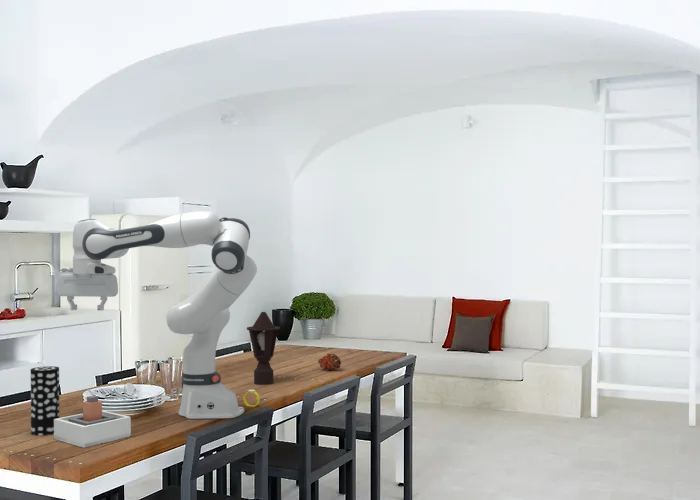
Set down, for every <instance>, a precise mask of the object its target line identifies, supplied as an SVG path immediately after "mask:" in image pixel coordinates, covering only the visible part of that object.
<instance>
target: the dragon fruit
mask: <svg viewBox="0 0 700 500" xmlns="http://www.w3.org/2000/svg"><path fill="white" fill-rule="evenodd" d="M317 363H318V364H319V367H320V368H321V369H323V370H325V371H326V372H328V371H332V372H333V371H336V369H340V368H341V365H342V362H341V358H340V357H339V356H338V355H337V354H335V353H333V352H332V353H326V355H323V356H322V358H319V359H318V361H317Z"/></svg>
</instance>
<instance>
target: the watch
mask: <svg viewBox="0 0 700 500" xmlns="http://www.w3.org/2000/svg"><path fill="white" fill-rule="evenodd" d="M248 393H250V394H254V395H255V397H256V403H255V404H249V403H248V402H247V395H248ZM242 397H243V399H242V401H243V403H244V405H245V406H246V407H251V408H255V407H257V406H258V405H259V403H260V400H261V398H260V395H259V393H258V392H257V391H256V389H248V390H247V391H246V392H245V393H244V395H243V396H242Z"/></svg>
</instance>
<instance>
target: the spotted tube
mask: <svg viewBox="0 0 700 500" xmlns="http://www.w3.org/2000/svg"><path fill="white" fill-rule="evenodd" d="M57 418H60V367H59V366H50V365H49V366H38V367H33V368H31V369H30V435H33V436H49V435H50V434H51V435H54V419H57Z"/></svg>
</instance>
